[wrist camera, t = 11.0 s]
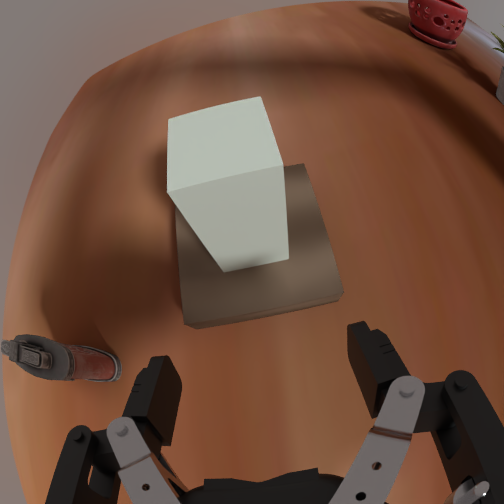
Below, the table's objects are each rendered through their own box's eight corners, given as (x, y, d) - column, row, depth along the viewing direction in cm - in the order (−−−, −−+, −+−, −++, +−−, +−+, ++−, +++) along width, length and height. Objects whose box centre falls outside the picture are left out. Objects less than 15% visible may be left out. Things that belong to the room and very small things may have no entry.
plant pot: (467, 54, 36) (478, 14, 25) (434, 53, 36) (446, 6, 25) (427, 26, 41) (434, -11, 30) (392, 25, 41) (396, -18, 30)
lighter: (62, 372, 23) (-10, 362, 14) (64, 341, 24) (-7, 323, 15) (121, 387, 22) (43, 387, 13) (122, 352, 23) (46, 337, 14)
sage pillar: (216, 216, 24) (168, 119, 14) (275, 203, 23) (260, 96, 13) (223, 272, 22) (166, 192, 12) (288, 259, 21) (283, 164, 11)
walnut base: (185, 208, 28) (174, 192, 25) (303, 182, 27) (303, 163, 25) (196, 329, 23) (184, 324, 21) (337, 301, 23) (343, 292, 20)
